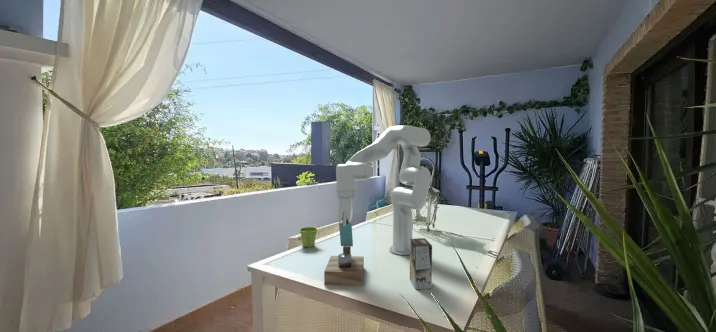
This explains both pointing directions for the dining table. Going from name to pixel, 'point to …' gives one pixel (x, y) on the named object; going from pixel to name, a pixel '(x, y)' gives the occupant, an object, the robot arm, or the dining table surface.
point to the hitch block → (344, 270)
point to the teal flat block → (346, 234)
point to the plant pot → (308, 236)
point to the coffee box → (421, 263)
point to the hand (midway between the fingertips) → (346, 237)
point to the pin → (344, 260)
